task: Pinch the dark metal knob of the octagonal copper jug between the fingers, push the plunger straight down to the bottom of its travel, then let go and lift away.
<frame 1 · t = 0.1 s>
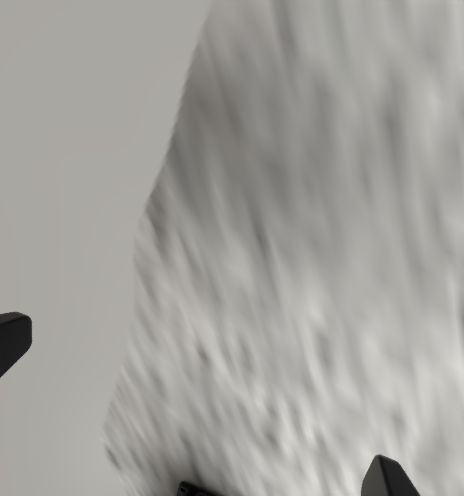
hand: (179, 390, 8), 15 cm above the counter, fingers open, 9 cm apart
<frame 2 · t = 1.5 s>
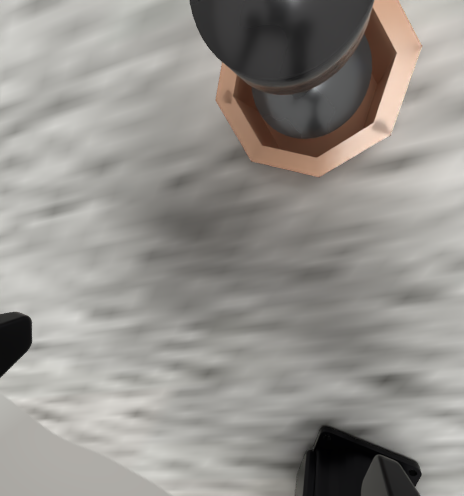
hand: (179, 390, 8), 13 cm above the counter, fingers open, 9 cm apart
octagonal copper jug: (315, 101, 17), on the counter
plunger: (300, 46, 9), point 9 cm above the counter, slide at 0.0 cm
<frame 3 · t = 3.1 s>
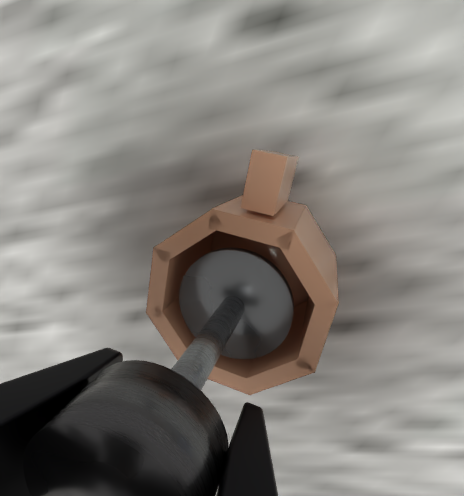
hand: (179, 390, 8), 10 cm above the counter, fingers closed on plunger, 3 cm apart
octagonal copper jug: (262, 261, 17), on the counter
plunger: (196, 362, 9), point 9 cm above the counter, slide at 0.0 cm, touching gripper
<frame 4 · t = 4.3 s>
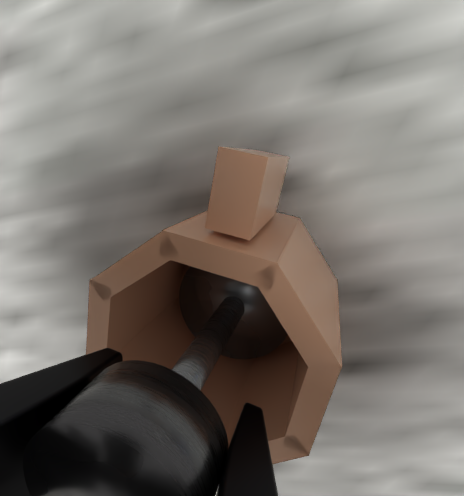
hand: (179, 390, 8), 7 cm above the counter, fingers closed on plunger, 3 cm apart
octagonal copper jug: (246, 286, 14), on the counter
plunger: (196, 362, 9), point 6 cm above the counter, slide at 3.4 cm, touching gripper
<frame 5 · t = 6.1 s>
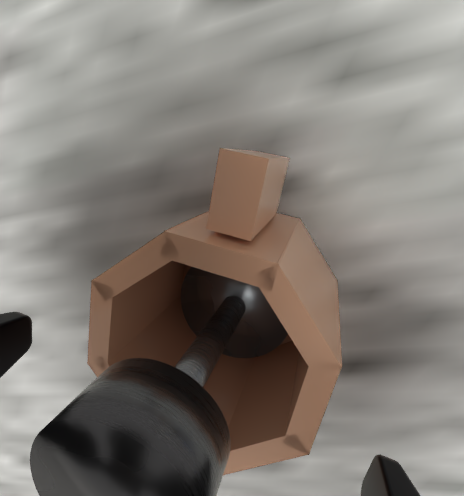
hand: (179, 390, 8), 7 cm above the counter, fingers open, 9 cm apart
octagonal copper jug: (247, 286, 14), on the counter
plunger: (198, 361, 9), point 5 cm above the counter, slide at 3.5 cm
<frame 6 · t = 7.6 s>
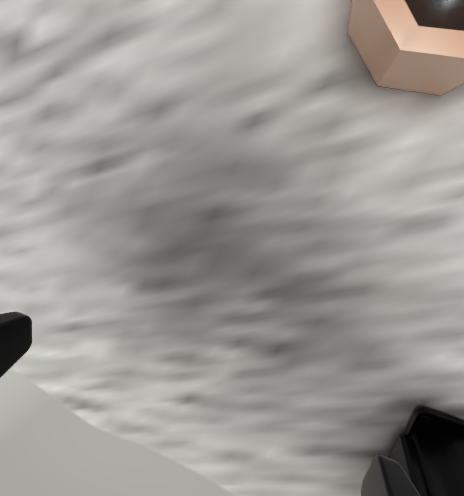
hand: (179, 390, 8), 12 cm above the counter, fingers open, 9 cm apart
octagonal copper jug: (437, 5, 14), on the counter
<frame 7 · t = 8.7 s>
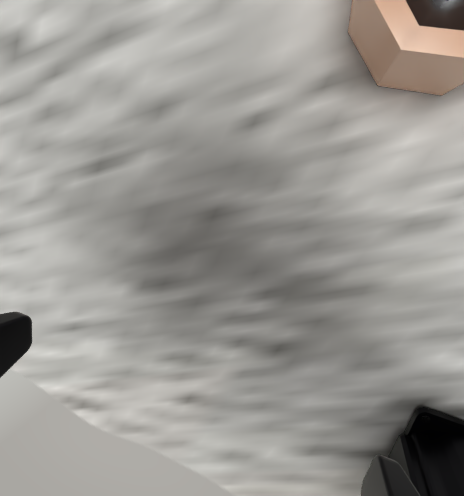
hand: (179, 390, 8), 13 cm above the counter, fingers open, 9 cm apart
octagonal copper jug: (437, 5, 14), on the counter
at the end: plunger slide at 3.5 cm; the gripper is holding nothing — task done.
